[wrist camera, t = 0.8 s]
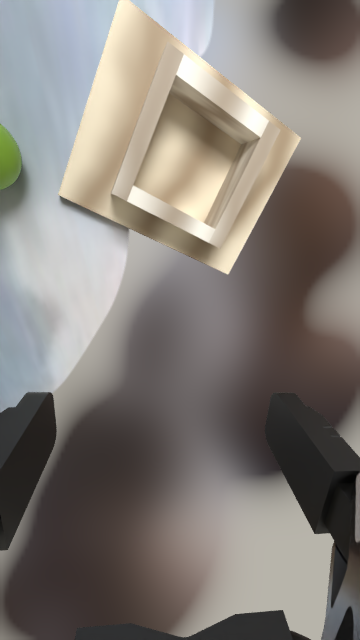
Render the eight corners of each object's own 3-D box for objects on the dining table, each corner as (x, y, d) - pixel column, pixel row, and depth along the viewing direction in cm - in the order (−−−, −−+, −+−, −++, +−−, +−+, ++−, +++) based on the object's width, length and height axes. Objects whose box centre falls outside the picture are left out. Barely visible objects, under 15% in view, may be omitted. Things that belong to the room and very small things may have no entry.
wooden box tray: (59, 194, 27) (50, 195, 23) (120, 1, 23) (124, -45, 18) (225, 272, 35) (242, 284, 30) (295, 139, 30) (327, 130, 26)
